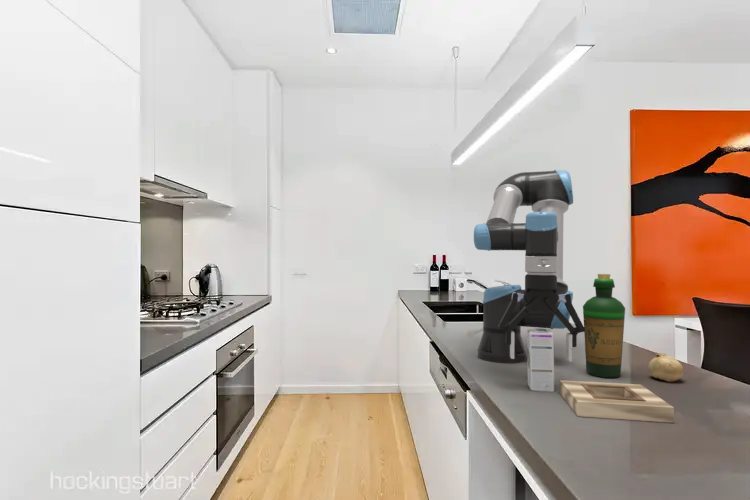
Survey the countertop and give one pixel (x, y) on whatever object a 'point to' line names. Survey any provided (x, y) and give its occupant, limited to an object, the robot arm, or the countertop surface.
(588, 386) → the beige flat square frame
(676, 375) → the onion
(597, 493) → the countertop surface
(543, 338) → the syrup box
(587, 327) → the bottle
